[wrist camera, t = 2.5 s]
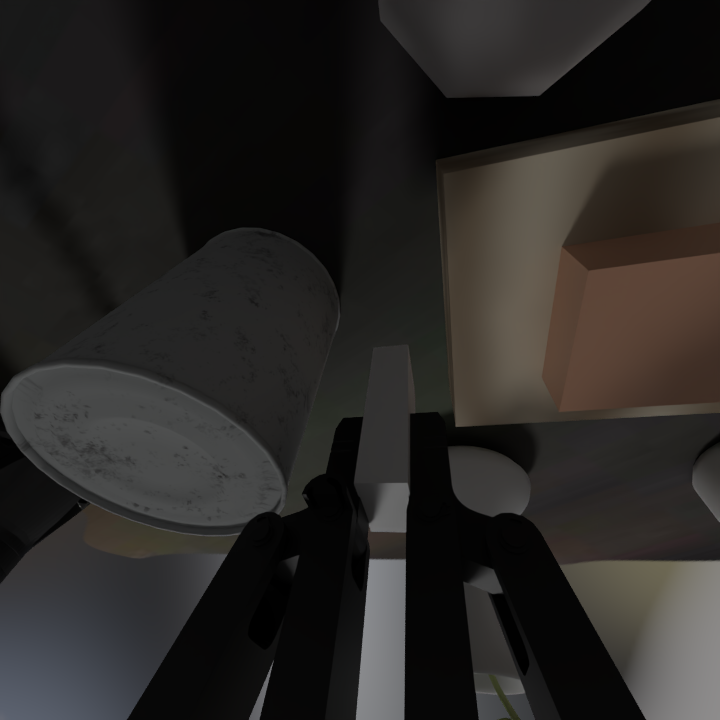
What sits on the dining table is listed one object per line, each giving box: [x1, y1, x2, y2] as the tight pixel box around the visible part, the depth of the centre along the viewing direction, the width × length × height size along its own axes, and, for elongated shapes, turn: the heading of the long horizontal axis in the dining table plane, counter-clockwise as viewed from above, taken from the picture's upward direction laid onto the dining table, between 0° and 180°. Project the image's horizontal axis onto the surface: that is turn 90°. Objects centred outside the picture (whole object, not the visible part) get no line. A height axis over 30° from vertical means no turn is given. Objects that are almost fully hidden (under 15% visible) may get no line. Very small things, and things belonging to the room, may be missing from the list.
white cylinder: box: [0, 227, 340, 536], centre depth 16 cm, size 10×10×12 cm
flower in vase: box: [448, 446, 531, 720], centre depth 20 cm, size 13×11×25 cm
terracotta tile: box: [542, 223, 720, 412], centre depth 14 cm, size 7×7×2 cm
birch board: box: [436, 99, 720, 427], centre depth 17 cm, size 14×14×4 cm
